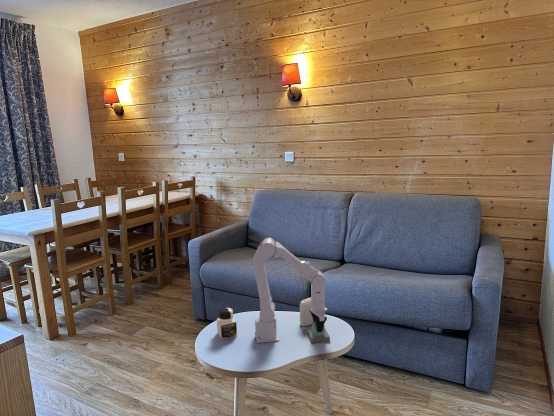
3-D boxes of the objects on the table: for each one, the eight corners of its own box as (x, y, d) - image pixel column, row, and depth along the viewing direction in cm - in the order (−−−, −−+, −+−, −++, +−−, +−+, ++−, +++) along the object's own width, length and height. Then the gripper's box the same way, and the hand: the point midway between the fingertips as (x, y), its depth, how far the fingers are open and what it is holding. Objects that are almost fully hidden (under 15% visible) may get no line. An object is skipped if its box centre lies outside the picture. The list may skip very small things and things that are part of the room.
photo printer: (316, 318, 183) (316, 294, 181) (321, 322, 180) (321, 297, 178) (298, 323, 179) (298, 299, 176) (303, 327, 175) (303, 302, 173)
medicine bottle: (221, 340, 166) (220, 314, 164) (217, 333, 172) (215, 308, 170) (237, 336, 168) (236, 311, 166) (232, 329, 175) (231, 305, 173)
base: (311, 343, 161) (311, 338, 161) (307, 333, 169) (307, 329, 169) (329, 341, 162) (329, 336, 162) (324, 332, 170) (324, 328, 170)
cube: (314, 336, 163) (314, 326, 162) (311, 331, 167) (311, 321, 166) (324, 335, 163) (324, 325, 162) (321, 330, 168) (321, 320, 167)
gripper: (331, 305, 156) (331, 336, 158) (322, 292, 170) (323, 320, 172) (314, 307, 155) (315, 338, 157) (307, 293, 169) (307, 322, 171)
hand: (318, 329), depth 165 cm, fingers closed on cube, 4 cm apart
